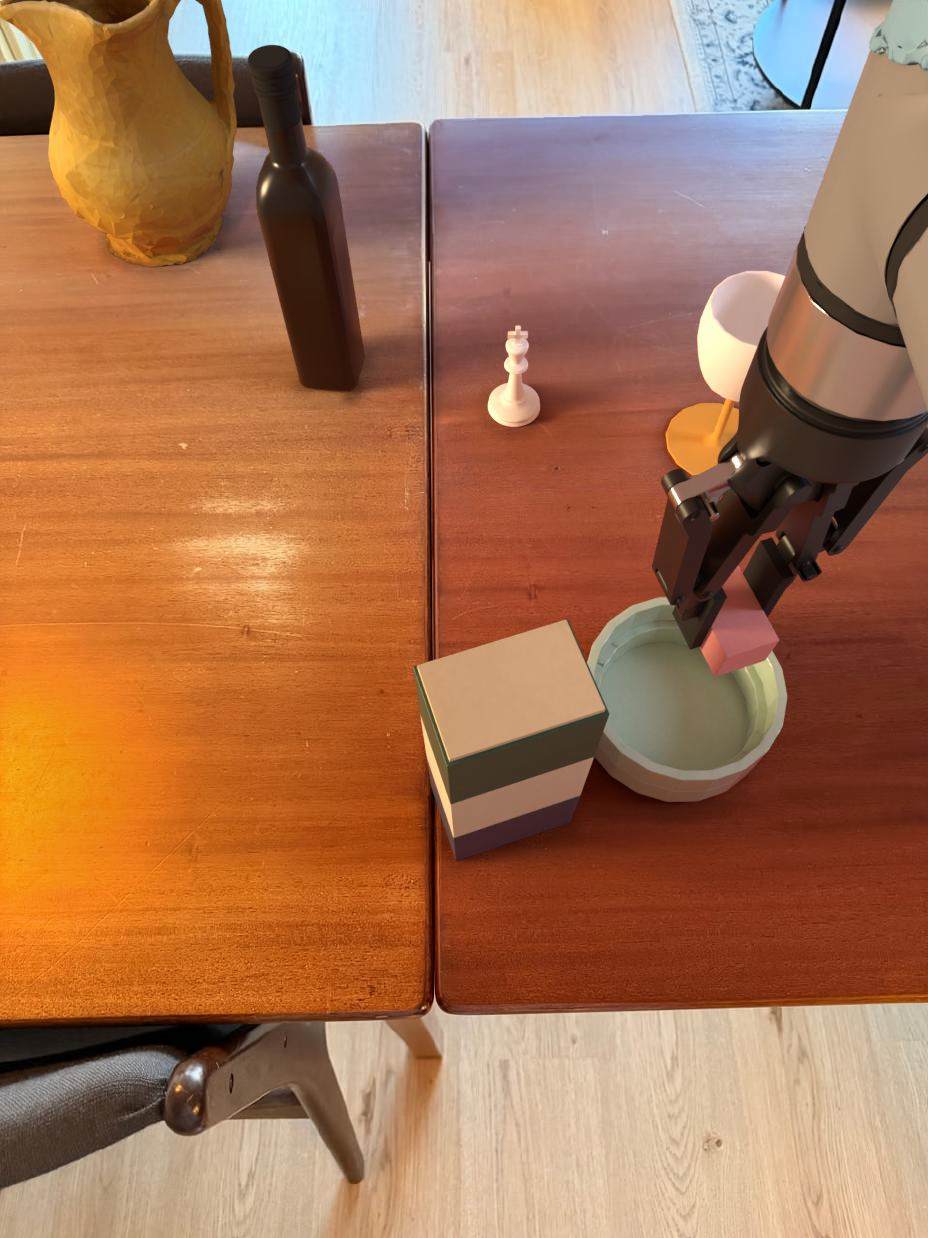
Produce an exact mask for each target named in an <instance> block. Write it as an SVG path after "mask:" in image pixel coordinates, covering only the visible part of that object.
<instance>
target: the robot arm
mask: <svg viewBox="0 0 928 1238" xmlns="http://www.w3.org/2000/svg"><path fill="white" fill-rule="evenodd" d="M868 48H869V51H868V52H869V53H868V55H867V58H866V60H865V63H864V65H863V69H862V71H861V74H860V77H859V79H858V82H857V85H856V87H855V90H854V92H853V95H852V98H851V101H850V104H849V106H848V109H847V112H846V114H845V117H844V119H843V122H842V125H841V127H840V131H839V133H838V136H837V139H836V141H835V144H834V147H833V149H832V152H831V154H830V158H829V160H828V163H827V166H826V168H825V171H824V174H823V176H822V179H821V182H820V185H819V187H818V190H817V193H816V195H815V198H814V201H813V203H812V206H811V209H810V211H809V213H808V219H807V222H806V223H805V225H804V227H803V231H802V233H801V237H800V239H799V241H798V242H797V243H798V244H797V245H796V246H795V247H796V248H795V250H794V253H793V255H792V258H791V261H790V263H789V266H788V268H787V271H786V273H785V275H784V276H785V278H784V281H783V283H782V286H781V289H780V291H779V294H778V296H777V299H776V301H775V304H774V307H773V309H772V312H771V314H770V317H769V320H768V326H767V328H766V329H765V331H764V332H763V334H762V336H761V339H760V341H759V344H758V346H757V349H756V351H755V354H754V357H753V359H752V362H751V364H750V367H749V370H748V372H747V375H746V377H745V380H744V382H743V385H742V389H741V393H740V400H739V402H738V403H739V404H738V409H739V421H738V430H737V432H736V433H735V435H734V436H733V437H732V439H731V440H730V441H729V442H728V443H727V444H726V445H725V446H724V447H723V448H722V450H721V451H720V453H719V455H718V465H716V466H714V467H712V468H710V469H708V470H706V471H704V472H702V473H700V474H699V475H690V476H688V474H687V473H686V472H687V471H686V470H684V469H683V468H675V469H671V470H670V471H668V472H666V473H665V474H664V475H663V477H662V478H661V479H660V484H661V486H662V489H663V491H664V492H665V495H666V498H667V500H666V504H665V508H664V512H663V517H662V521H661V526H660V530H659V534H658V538H657V543H656V547H655V551H654V554H653V559H652V564H651V569H652V571H653V573H654V575H655V577H656V579H657V581H658V584H659V585H660V587H661V589H662V591H663V593H664V596H665V597H667V599H668V601H669V603H670V605H675V607H674V610H673V612H672V614H673V616H674V618H675V620H676V622H677V624H678V626H679V628H680V630H681V632H682V634H683V636H684V638H685V640H686V642H687V644H688V647H689V649H690V650H691V649H694V648H697V647H700V646H701V645H702V643H703V641H704V639H705V637H706V635H707V633H708V631H709V629H710V628H711V627H712V625H713V623H714V621H715V619H716V617H717V615H718V613H719V611H720V610H721V608H722V606H723V604H724V602H725V600H726V598H727V595H726V594H725V592H724V590H723V588H722V586H723V585H724V583H725V582H726V581H727V579H728V578H729V577H730V575H731V574H732V573H733V572H734V570H735V569H736V568H737V566H738V565H739V566H740V564H741V562H743V560H744V558H745V557H746V556H747V554H748V553H749V552H750V551H751V549H752V548H753V547H754V546H755V544H756V543H757V542H758V540H759V539H760V537H761V536H762V535H763V534H768V533H775V537H776V539H777V541H778V542H777V543H776V541H775V540H774V538H773V537H772V536H771V537H767V538H765V539H761V540H759V542H758V544H757V546H756V548H755V549H754V552H753V553H752V555H751V557H750V559H749V561H748V562H747V565H746V566H745V568H744V570H743V571H742V572H743V575H744V577H745V578H746V580H747V582H748V584H749V586H750V588H751V589H752V591H753V593H754V595H755V597H756V599H757V600H758V602H759V604H760V606H761V608H762V610H763V611H764V613H765V615H766V616H767V618H769V616H770V615H771V613H772V611H774V608H775V607H776V605H777V604H778V602H779V601H780V599H781V598H782V596H783V594H784V593H785V591H786V590H787V589H788V588H789V587H790V586H791V585H792V584H794V583H793V582H794V581H795V580H796V578H797V576H799V579H800V580H801V582H804V583H807V582H810V581H812V580H815V579H816V578H818V577H819V576H820V575H822V573H823V570H822V569H821V567H820V566H819V564H818V562H817V558H818V556H819V554H820V553H822V552H824V551H825V552H826V553H827V555H828V556H829V557H832V556H836V555H840V554H842V553H843V552H844V551H845V550H847V548H848V547H849V546H850V545H851V544H852V542H853V541H854V540H855V538H856V537H857V536H858V534H859V533H860V532H861V531H862V530H863V528H864V527H865V526H866V524H867V523H868V522H869V521H870V520H871V518H872V516H874V514H875V513H876V512H877V510H878V509H879V508H880V506H881V505H882V504H883V503H884V501H885V500H886V499H887V498H888V496H889V495H890V494H891V493H892V491H894V489H895V488H896V486H897V485H898V483H899V482H900V481H902V479H903V477H904V476H905V475H906V474H907V472H908V471H909V470H911V468H913V467H914V466H915V465H916V464H917V463H918V462H920V461H921V460H922V459H923V458H924V457H926V455H928V0H892V2H891V4H890V6H889V9H888V11H887V13H886V15H885V17H884V20H883V21H882V22H881V23H880V24H878V25H877V26H876V27H875V28H874V29H873V32H872V34H871V36H870V39H869V46H868Z"/></svg>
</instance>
